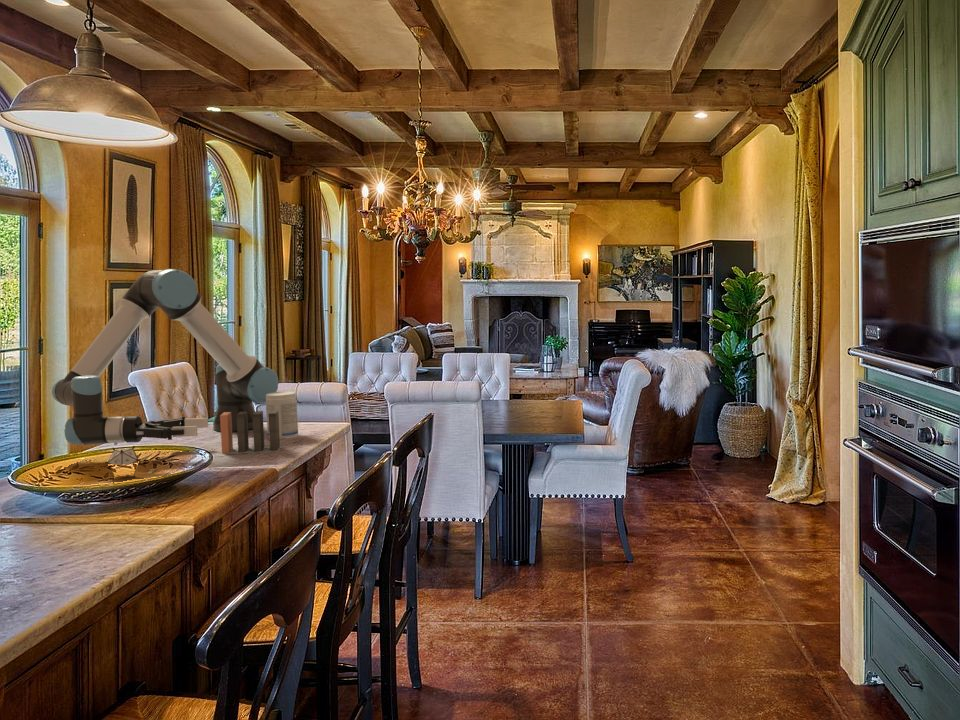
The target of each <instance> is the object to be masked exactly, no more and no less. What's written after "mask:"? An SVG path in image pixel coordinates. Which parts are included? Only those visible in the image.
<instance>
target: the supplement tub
mask: <svg viewBox="0 0 960 720" xmlns="http://www.w3.org/2000/svg"><path fill="white" fill-rule="evenodd" d="M297 403H298V402H297V396H296V392H295V391H277V392H274V393H268V394H266V402H265V411H266V424H267V425H266V427H267V428H266V429H267V437H268V438H269V439H270V435H269V413H270V412H271V411H276V410H278V414H279V437H280V440H281V439H290V438H296V437H298V436H299V422H298V408H297V407H298V406H297V405H298V404H297Z"/></svg>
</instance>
